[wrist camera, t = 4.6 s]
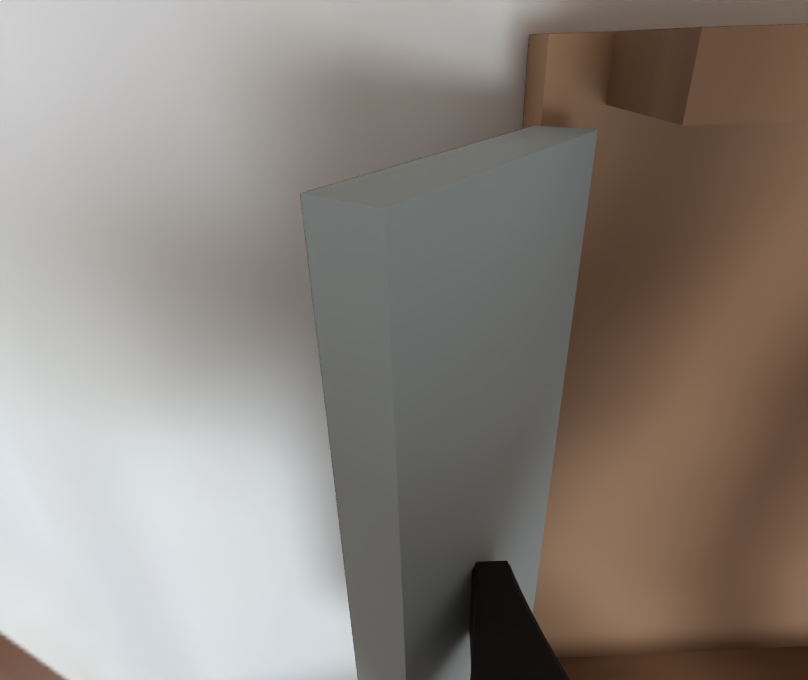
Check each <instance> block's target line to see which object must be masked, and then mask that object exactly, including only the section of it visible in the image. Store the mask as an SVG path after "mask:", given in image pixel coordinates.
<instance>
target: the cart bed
mask: <svg viewBox="0 0 808 680" xmlns="http://www.w3.org/2000/svg"><path fill="white" fill-rule="evenodd" d="M531 126H549V127H566V128H582V129H598V132H597V139H596V147H595V154H594V161H593V169H592V176H591V184H590V191H589V199H588V206H587V214H586V221H585V228H584V236H583V243H582V251H581V258H580V266H579V273H578V280H577V288H576V295H575V303H574V310H573V318H572V325H571V333H570V340H569V347H568V355H567V362H566V370H565V377H564V385H563V392H562V400H561V407H560V414H559V422H558V429H557V437H556V444H555V452H554V459H553V466H552V474H551V481H550V489H549V496H548V504H547V511H546V519H545V526H544V533H543V541H542V548H541V556H540V563H539V571H538V578H537V586H536V593H535V600H534V608H533V615H534V617H535V619H536V621H537V623H538V625H539V627H540V628H541V630H542V632H543V634H544V636H545V638H546V639H547V641H548V643H549V645H550V646H551V648H552V650H553V652H554V653H555V655H556V657H557V658H558V660H559V662H560V663H561V665H562V667H563V669H564V670H565V672H566V674H567V675H568V677H569V679H570V680H808V24H784V25H753V26H721V27H694V28H675V29H655V30H635V31H616V32H584V33H553V34H534V35H529V44H528V57H527V71H526V85H525V99H524V113H523V127H522V129H524V128H528V127H531Z"/></svg>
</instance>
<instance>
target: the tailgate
mask: <svg viewBox="0 0 808 680" xmlns="http://www.w3.org/2000/svg"><path fill="white" fill-rule="evenodd" d="M597 132H598V129H582V128H566V127H549V126H531V127H528V128H524V129H521V130H517V131H514V132H510V133H507V134H503V135H500V136H497V137H493V138H490V139H486V140H483V141H479V142H476V143H472V144H469V145H465V146H462V147H459V148H455V149H452V150H448V151H445V152H441V153H438V154H434V155H431V156H427V157H424V158H420V159H417V160H414V161H410V162H407V163H403V164H400V165H396V166H393V167H389V168H386V169H382V170H379V171H376V172H372V173H369V174H365V175H362V176H358V177H355V178H351V179H348V180H344V181H341V182H337V183H334V184H331V185H327V186H324V187H320V188H317V189H313V190H310V191H306V192H303V193H300V197H301V206H302V214H303V223H304V231H305V239H306V248H307V256H308V265H309V273H310V282H311V290H312V298H313V307H314V315H315V324H316V332H317V340H318V349H319V357H320V366H321V374H322V383H323V391H324V399H325V408H326V416H327V425H328V433H329V441H330V450H331V458H332V467H333V475H334V484H335V492H336V500H337V509H338V517H339V526H340V534H341V543H342V551H343V559H344V568H345V576H346V585H347V593H348V601H349V610H350V618H351V627H352V635H353V644H354V652H355V660H356V669H357V677H358V680H470V676H471V656H470V636H469V622H470V601H471V580H472V570H473V568H474V566H475V563H476V562H482V561H508V563H509V564H510V566H511V568H512V571H513V573H514V576H515V578H516V580H517V582H518V585H519V587H520V589H521V591H522V593H523V595H524V597H525V599H526V601H527V603H528V605H529V607H530V609H531V611H532V613H533V608H534V600H535V593H536V586H537V578H538V571H539V563H540V556H541V548H542V541H543V533H544V526H545V519H546V511H547V504H548V496H549V489H550V481H551V474H552V466H553V459H554V452H555V444H556V437H557V429H558V422H559V414H560V407H561V400H562V392H563V385H564V377H565V370H566V362H567V355H568V347H569V340H570V333H571V325H572V318H573V310H574V303H575V295H576V288H577V280H578V273H579V266H580V258H581V251H582V243H583V236H584V228H585V221H586V214H587V206H588V199H589V191H590V184H591V176H592V169H593V161H594V154H595V147H596V139H597Z"/></svg>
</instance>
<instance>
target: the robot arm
mask: <svg viewBox="0 0 808 680" xmlns="http://www.w3.org/2000/svg"><path fill="white" fill-rule="evenodd" d="M469 636H470V656H471V676H470V680H570V679H569V677H568V675H567V674H566V672H565V670H564V669H563V667H562V665H561V663H560V662H559V660H558V658H557V657H556V655H555V653H554V652H553V650H552V648H551V646H550V645H549V643H548V641H547V639H546V638H545V636H544V634H543V632H542V630H541V628H540V627H539V625H538V623H537V621H536V619H535V617H534V615H533V613H532V611H531V609H530V607H529V605H528V603H527V601H526V599H525V597H524V595H523V593H522V591H521V589H520V587H519V585H518V582H517V580H516V578H515V576H514V573H513V571H512V568H511V566H510V564H509V563H508V561H482V562H476V563H475V566H474V568H473V570H472V580H471V601H470V622H469Z"/></svg>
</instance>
